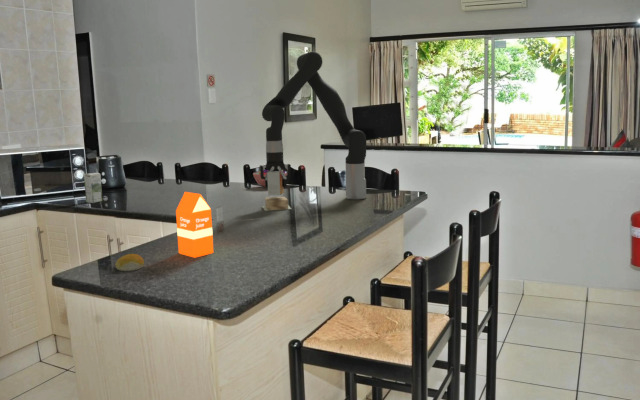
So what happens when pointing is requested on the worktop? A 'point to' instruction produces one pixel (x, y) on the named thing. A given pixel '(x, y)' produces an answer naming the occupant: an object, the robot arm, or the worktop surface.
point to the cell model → (262, 181)
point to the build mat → (277, 209)
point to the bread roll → (129, 262)
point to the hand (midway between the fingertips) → (275, 187)
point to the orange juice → (194, 226)
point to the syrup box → (93, 187)
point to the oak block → (276, 203)
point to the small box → (275, 183)
